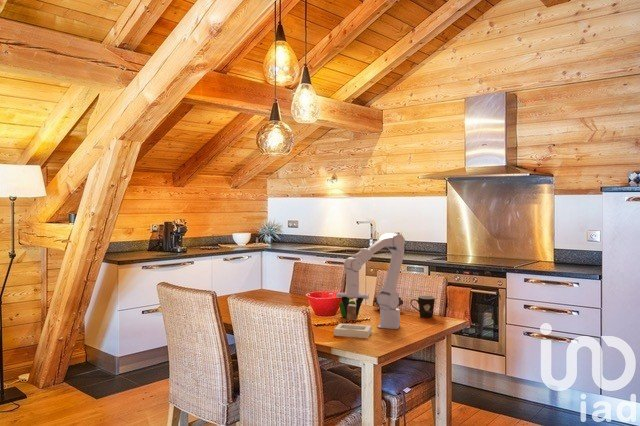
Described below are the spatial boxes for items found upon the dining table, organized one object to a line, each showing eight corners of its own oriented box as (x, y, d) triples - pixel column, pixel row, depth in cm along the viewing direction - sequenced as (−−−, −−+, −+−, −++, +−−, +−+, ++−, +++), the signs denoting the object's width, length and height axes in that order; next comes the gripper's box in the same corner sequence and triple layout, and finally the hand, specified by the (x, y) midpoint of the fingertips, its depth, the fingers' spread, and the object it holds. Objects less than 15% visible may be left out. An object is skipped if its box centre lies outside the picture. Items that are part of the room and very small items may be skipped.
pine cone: (406, 310, 283) (406, 291, 283) (398, 313, 275) (398, 294, 274) (376, 306, 293) (376, 288, 292) (368, 309, 284) (368, 291, 284)
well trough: (371, 332, 238) (371, 325, 238) (367, 338, 229) (367, 331, 229) (339, 329, 242) (339, 323, 242) (334, 335, 233) (334, 328, 233)
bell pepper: (337, 318, 265) (337, 298, 264) (342, 314, 272) (342, 295, 272) (353, 319, 262) (353, 299, 261) (358, 316, 269) (358, 296, 269)
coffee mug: (437, 316, 270) (437, 296, 269) (431, 319, 263) (431, 299, 262) (416, 313, 276) (416, 294, 276) (409, 316, 269) (409, 297, 268)
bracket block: (357, 317, 239) (357, 304, 239) (355, 319, 235) (355, 306, 235) (349, 317, 240) (349, 304, 240) (347, 319, 236) (347, 305, 236)
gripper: (334, 284, 235) (334, 314, 235) (366, 286, 231) (366, 317, 231) (338, 282, 242) (338, 311, 242) (369, 283, 238) (369, 313, 238)
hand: (352, 314), depth 237 cm, fingers closed on bracket block, 4 cm apart
